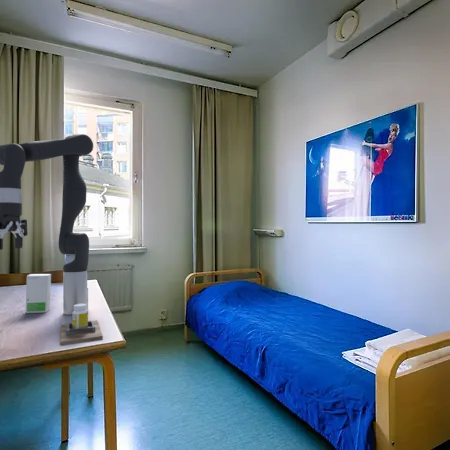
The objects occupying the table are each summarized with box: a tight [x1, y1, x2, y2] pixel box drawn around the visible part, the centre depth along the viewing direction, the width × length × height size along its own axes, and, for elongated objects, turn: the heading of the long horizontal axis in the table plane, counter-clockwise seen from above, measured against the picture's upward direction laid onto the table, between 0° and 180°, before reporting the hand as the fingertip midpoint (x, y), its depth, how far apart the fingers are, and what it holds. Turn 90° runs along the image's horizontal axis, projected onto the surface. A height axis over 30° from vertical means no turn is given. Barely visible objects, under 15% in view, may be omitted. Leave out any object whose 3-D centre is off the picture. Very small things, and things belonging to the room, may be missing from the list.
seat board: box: [59, 319, 103, 346], centre depth 112 cm, size 20×12×2 cm, turn 25°
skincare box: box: [25, 273, 52, 314], centre depth 142 cm, size 8×7×16 cm
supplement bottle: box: [71, 304, 89, 329], centre depth 112 cm, size 5×5×8 cm
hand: (9, 249), depth 115 cm, fingers open, 8 cm apart
